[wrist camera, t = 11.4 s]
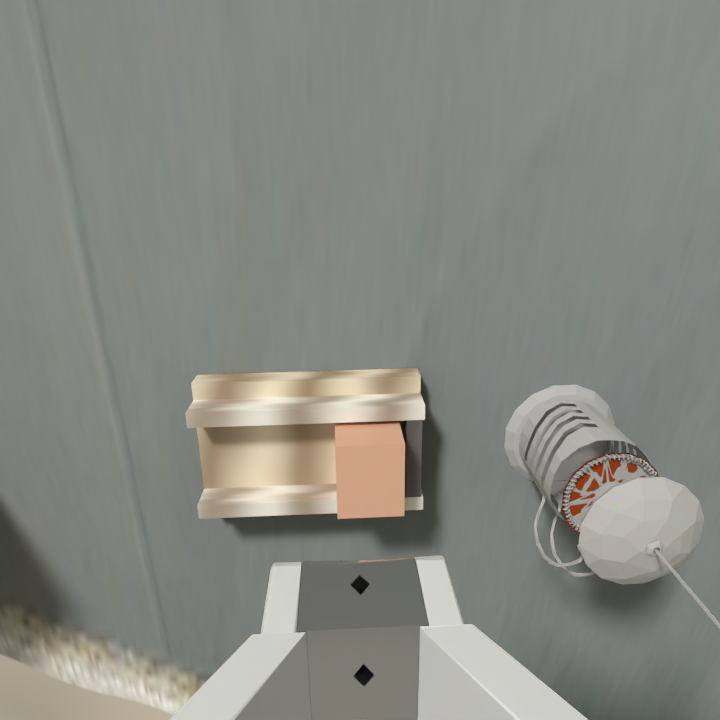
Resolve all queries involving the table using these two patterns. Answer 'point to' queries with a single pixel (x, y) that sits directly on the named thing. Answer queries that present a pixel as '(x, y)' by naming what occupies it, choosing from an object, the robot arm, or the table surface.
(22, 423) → the table surface
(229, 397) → the chute
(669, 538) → the french press
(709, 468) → the table surface
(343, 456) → the block
